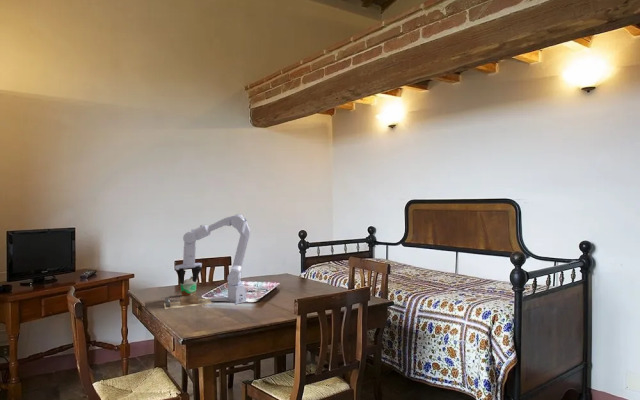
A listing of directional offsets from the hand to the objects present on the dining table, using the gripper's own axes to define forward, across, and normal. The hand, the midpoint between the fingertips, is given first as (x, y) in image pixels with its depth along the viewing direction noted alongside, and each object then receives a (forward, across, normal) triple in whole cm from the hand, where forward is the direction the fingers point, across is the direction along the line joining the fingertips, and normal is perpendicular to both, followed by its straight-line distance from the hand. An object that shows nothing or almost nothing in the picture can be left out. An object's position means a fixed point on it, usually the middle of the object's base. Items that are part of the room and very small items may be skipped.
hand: (188, 282), depth 230 cm
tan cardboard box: (+9, +3, +5) cm, 11 cm away
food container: (+11, -10, -9) cm, 17 cm away
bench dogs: (+10, +11, 0) cm, 15 cm away
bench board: (+10, +3, +5) cm, 12 cm away
